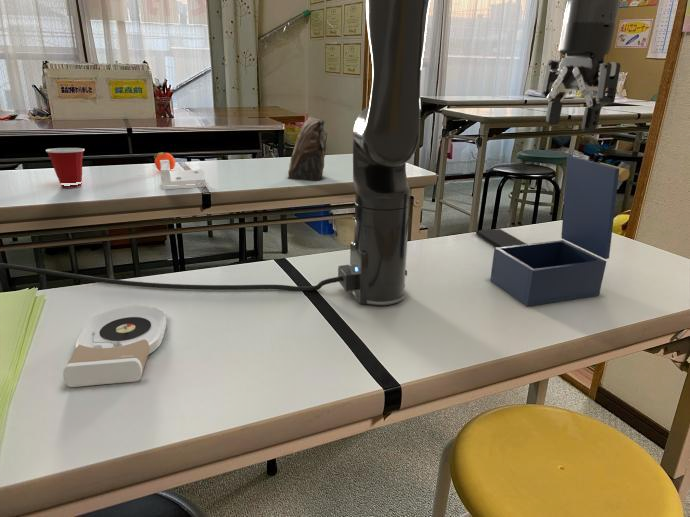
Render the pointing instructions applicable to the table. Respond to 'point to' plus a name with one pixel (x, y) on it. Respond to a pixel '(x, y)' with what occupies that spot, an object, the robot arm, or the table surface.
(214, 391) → the table surface
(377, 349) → the table surface
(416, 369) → the table surface
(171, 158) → the tomato
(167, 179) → the bracket
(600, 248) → the box lid
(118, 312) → the record player
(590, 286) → the dark blue box
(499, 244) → the smartphone
